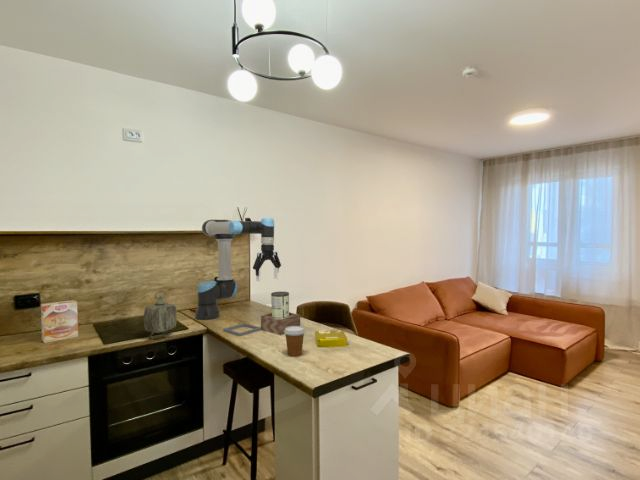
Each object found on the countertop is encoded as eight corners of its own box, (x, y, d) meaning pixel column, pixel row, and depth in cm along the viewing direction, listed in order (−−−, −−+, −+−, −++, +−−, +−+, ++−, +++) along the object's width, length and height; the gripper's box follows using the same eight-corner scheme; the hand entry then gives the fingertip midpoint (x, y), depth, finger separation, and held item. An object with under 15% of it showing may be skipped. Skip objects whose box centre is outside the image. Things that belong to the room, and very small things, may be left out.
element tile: (317, 348, 171) (317, 338, 171) (314, 339, 186) (314, 330, 186) (347, 347, 173) (347, 337, 173) (342, 337, 188) (342, 328, 188)
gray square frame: (223, 331, 200) (223, 328, 200) (244, 325, 212) (244, 323, 212) (239, 336, 190) (239, 333, 190) (260, 330, 202) (260, 327, 202)
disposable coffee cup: (284, 351, 167) (284, 326, 166) (304, 350, 168) (304, 325, 167) (284, 358, 157) (284, 331, 157) (305, 357, 158) (305, 331, 158)
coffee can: (273, 315, 209) (273, 291, 208) (290, 315, 208) (290, 291, 207) (269, 319, 198) (269, 294, 198) (287, 319, 197) (287, 294, 197)
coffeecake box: (44, 343, 181) (43, 305, 180) (41, 340, 186) (40, 303, 185) (78, 336, 192) (77, 301, 191) (75, 334, 197) (74, 299, 196)
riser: (261, 329, 203) (260, 315, 202) (281, 324, 215) (281, 310, 214) (280, 335, 192) (279, 320, 192) (300, 328, 204) (300, 314, 204)
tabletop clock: (167, 332, 199) (166, 288, 198) (178, 334, 194) (177, 289, 194) (144, 339, 186) (143, 292, 185) (155, 342, 182) (154, 294, 181)
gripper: (255, 245, 196) (254, 283, 197) (287, 243, 215) (286, 278, 216) (246, 244, 201) (246, 281, 202) (278, 243, 220) (278, 276, 221)
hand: (267, 279), depth 209 cm, fingers open, 13 cm apart
